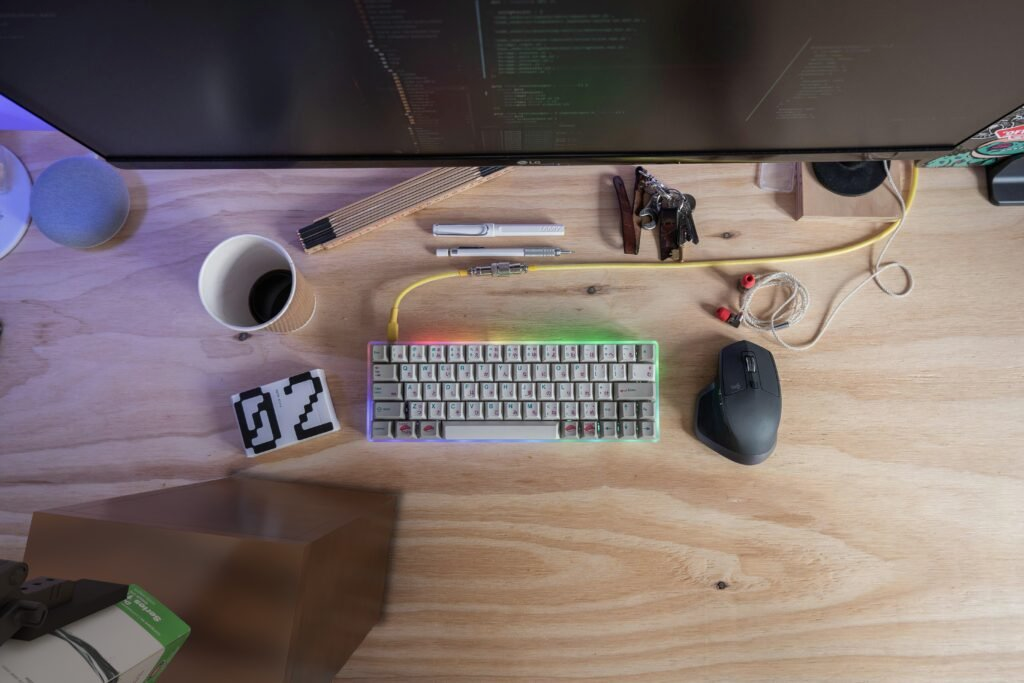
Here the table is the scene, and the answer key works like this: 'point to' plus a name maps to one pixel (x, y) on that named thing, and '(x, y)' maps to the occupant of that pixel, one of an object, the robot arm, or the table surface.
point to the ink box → (100, 646)
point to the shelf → (190, 587)
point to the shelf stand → (299, 516)
